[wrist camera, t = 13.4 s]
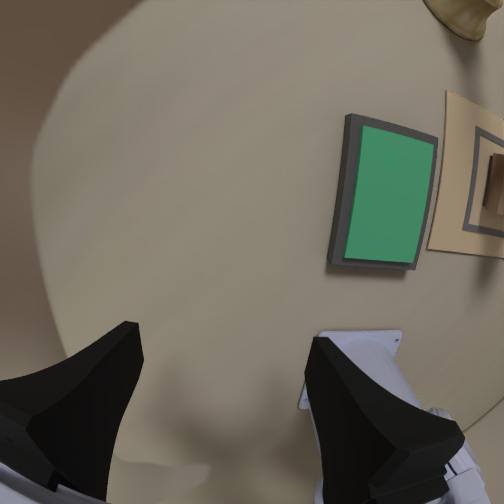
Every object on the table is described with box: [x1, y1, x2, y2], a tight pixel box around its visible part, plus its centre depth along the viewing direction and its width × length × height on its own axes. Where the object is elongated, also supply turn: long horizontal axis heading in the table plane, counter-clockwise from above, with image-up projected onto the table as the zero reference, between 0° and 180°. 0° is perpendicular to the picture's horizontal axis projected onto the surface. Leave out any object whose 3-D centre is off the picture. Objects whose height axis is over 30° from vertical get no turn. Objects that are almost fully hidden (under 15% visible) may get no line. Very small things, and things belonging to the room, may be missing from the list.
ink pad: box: [327, 113, 438, 270], centre depth 18 cm, size 10×7×2 cm
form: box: [427, 90, 504, 258], centre depth 18 cm, size 13×16×1 cm
